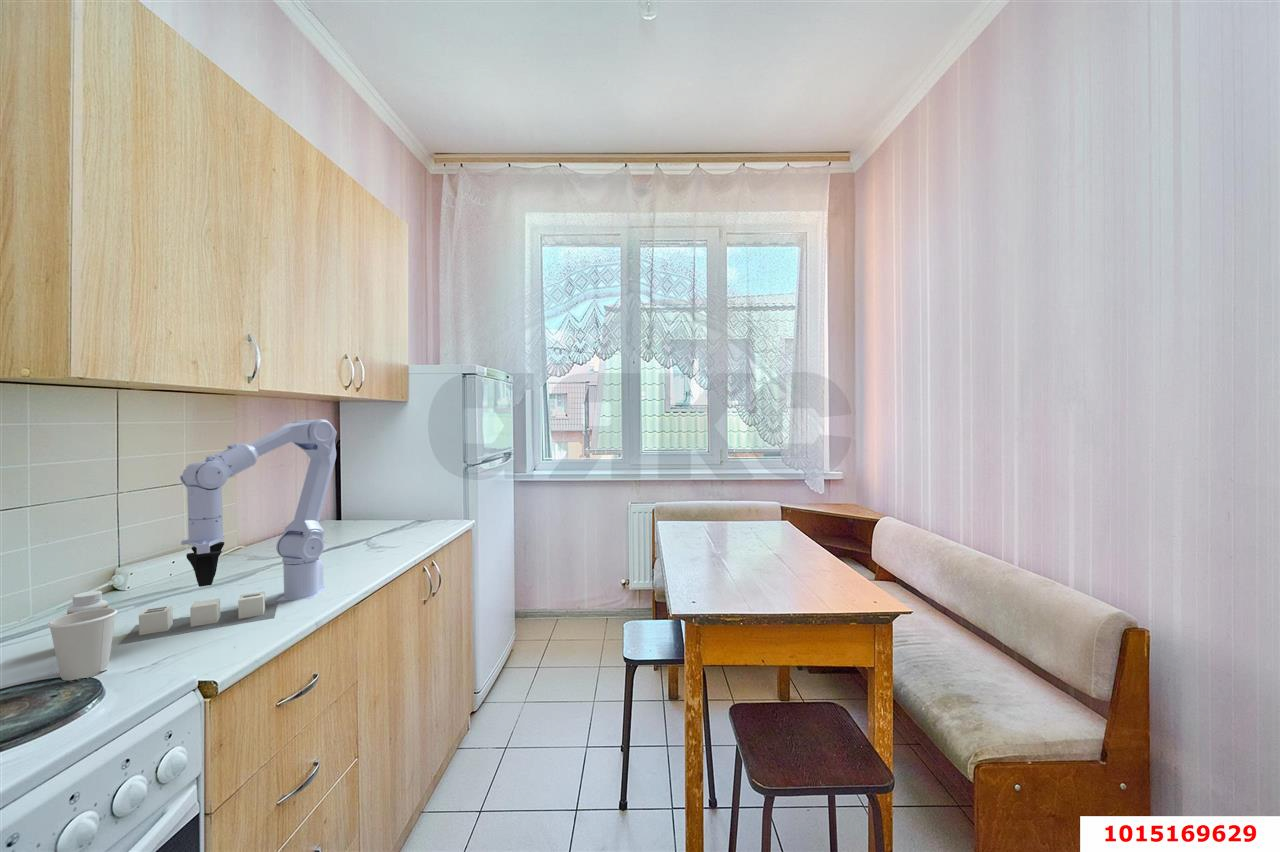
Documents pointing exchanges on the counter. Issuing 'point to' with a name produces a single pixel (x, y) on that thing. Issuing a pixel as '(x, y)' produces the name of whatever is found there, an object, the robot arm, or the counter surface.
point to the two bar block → (155, 620)
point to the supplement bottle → (87, 602)
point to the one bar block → (251, 605)
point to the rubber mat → (185, 625)
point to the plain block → (205, 612)
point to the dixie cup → (83, 642)
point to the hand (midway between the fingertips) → (207, 581)
